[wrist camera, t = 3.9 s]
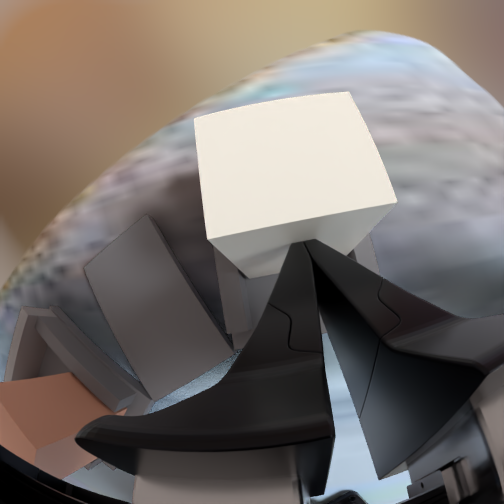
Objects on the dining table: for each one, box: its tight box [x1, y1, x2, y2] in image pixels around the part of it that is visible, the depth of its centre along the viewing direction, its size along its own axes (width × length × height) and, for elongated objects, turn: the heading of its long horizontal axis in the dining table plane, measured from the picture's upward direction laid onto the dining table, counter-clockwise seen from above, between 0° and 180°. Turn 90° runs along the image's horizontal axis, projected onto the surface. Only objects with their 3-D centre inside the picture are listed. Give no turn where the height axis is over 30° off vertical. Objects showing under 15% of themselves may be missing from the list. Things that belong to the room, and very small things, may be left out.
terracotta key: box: [0, 372, 127, 479], centre depth 10 cm, size 4×5×8 cm
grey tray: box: [4, 157, 380, 470], centre depth 14 cm, size 13×30×4 cm, turn 125°
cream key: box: [194, 92, 397, 279], centre depth 11 cm, size 4×5×8 cm
